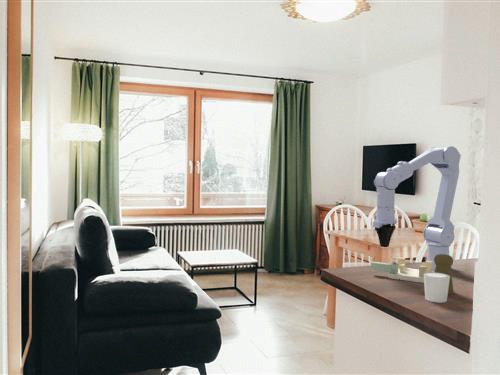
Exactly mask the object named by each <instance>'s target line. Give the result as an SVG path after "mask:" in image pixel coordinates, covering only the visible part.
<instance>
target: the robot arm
mask: <svg viewBox="0 0 500 375" xmlns="http://www.w3.org/2000/svg"><path fill="white" fill-rule="evenodd" d="M461 157H462V156H461V153H460V152H459V149H457V147H455V146H442V147H441V146H439V147H438V146H437V147H436V146H435V147H434V146H433V147H431V148H428V149H425V151H423V152H422V153H421V154H419V155H418V156H416V157H415V158H413V159H412V160H410V161H403V160H401V161H398V162H397V164H396V165H395V166H392V167H388V168H387V169H386V171H381V172H378V173H377V174H376V176H375V179H373V185H374V186H375V188H376V193H377V194H376V219H375V220H374V221H372V228H374V230H375V231H376V235H377V237H378V240H379V246H380V247H381V248H389V246H390V242H391V240H392V236H393V234H394V232H395V230H396V225H397V223H398V219H397V218H395V201H396V200H395V197H396V196H395V195H396V190H395V189H396V188H398V186H399V184H401V182H403V181H405V180H407V179H409V178H410V177H412V176H413V174H414V171H416V170H418V169H420V168H422V167H424V166H426V165H428V164H431V166H433V167H434V168H435V169H436V170H438V171H439V173H440V174H441V179H440V182H439V188H438V194H437V198H436V202H435V207H434V211H433V212H434V213H433V216H432V217H431V218H430V219H429V220H428V221H427V223H426V225H425V227H424V229H423V232H422V236H423V238H424V240H425V241H426V242H425V243H426V244H427V245H426V246H427V247H426V249H427V250H426V252H427V253H426V256H427V257H426V261H433V271H434V272H435V268H436V264H435V262H434V258H435V256H436V255H438V254H446V255H450V247H451V245H452V244H453V243H454V241H455V225H454V224H453V222H452V221H451V215H452V210H453V206H454V200H455V195H456V190H457V185H458V181H459V175H460V160H461ZM451 269H453V267H452V266H451Z"/></svg>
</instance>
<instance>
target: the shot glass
mask: <svg viewBox="0 0 500 375" xmlns="http://www.w3.org/2000/svg"><path fill="white" fill-rule="evenodd" d="M449 280H450V276H449V275H447V274H443V273H436V272H435V271H434V272H427V273H424V283H423V285H424V300H426V301H428V302H431V303H440V304H441V303H447V301H448V295H449V294H448V288H449Z"/></svg>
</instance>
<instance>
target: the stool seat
mask: <svg viewBox="0 0 500 375" xmlns="http://www.w3.org/2000/svg"><path fill="white" fill-rule="evenodd" d="M397 264H398V273H391V272H388V279H393V280H399V279H400V280H402V281H408V282H413V283H422V284H424V273H427V272H435V271H433V261H427V260H426V261H425V262H424V264H425V265H421V264H420V265H419V266H418V268H417V269H416V268H409V267H406V257H398V258H397ZM400 280H399V281H400Z"/></svg>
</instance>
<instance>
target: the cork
mask: <svg viewBox="0 0 500 375" xmlns="http://www.w3.org/2000/svg"><path fill="white" fill-rule="evenodd" d="M434 262H435V264H436V268H435V271H434V272H436V273H443V274H447V275H449V276H450V280H449V288H448V295H453V294H454V286H453V285H454V284H453V282H454V281H453V274H452V268H451V267H452V266H453V264H454V259H453V257H452V256H451V255H450V254H449V255H446V254H438V255H436V256H435V258H434Z"/></svg>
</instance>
